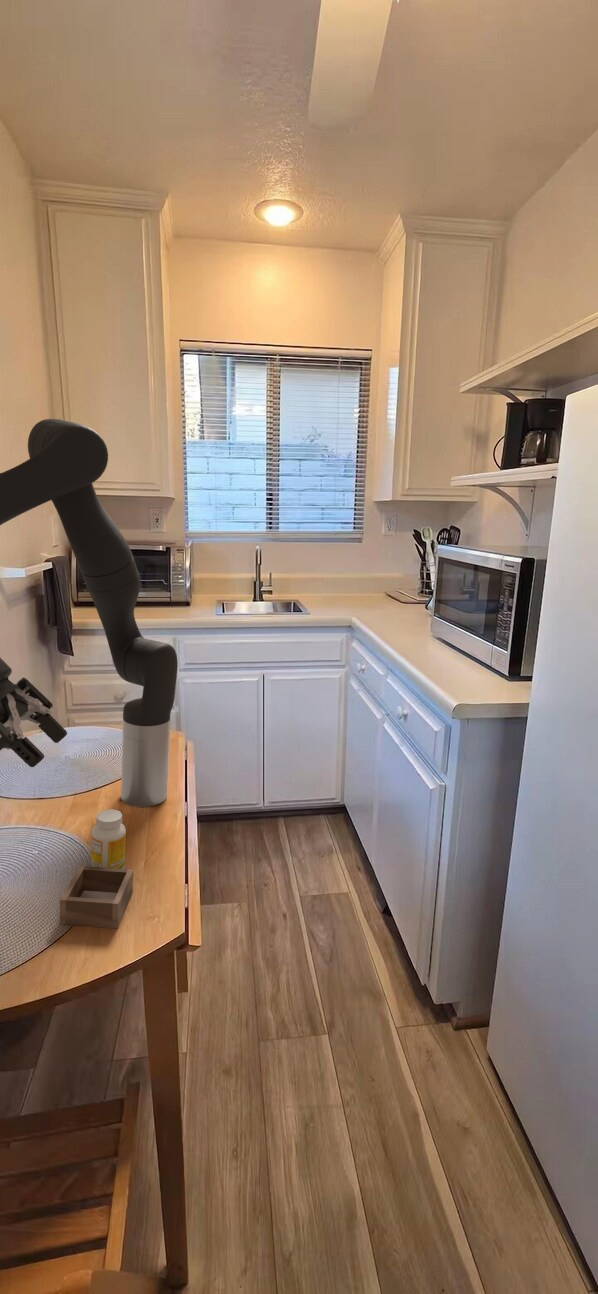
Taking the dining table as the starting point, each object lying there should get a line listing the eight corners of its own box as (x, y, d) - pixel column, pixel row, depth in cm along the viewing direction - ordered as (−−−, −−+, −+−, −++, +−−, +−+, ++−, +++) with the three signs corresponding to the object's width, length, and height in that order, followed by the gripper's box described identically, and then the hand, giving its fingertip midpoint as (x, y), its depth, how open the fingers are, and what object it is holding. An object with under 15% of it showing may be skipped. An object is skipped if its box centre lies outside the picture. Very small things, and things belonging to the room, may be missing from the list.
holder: (79, 888, 92) (80, 865, 91) (132, 892, 92) (133, 869, 92) (59, 924, 84) (59, 899, 83) (117, 928, 84) (118, 903, 84)
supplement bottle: (87, 877, 95) (87, 823, 93) (95, 858, 100) (95, 806, 98) (121, 878, 96) (122, 824, 94) (127, 858, 101) (128, 807, 99)
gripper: (-44, 659, 72) (51, 754, 75) (8, 635, 86) (87, 716, 89) (-87, 697, 73) (9, 789, 76) (-28, 667, 87) (51, 746, 90)
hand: (51, 750), depth 83 cm, fingers open, 8 cm apart
